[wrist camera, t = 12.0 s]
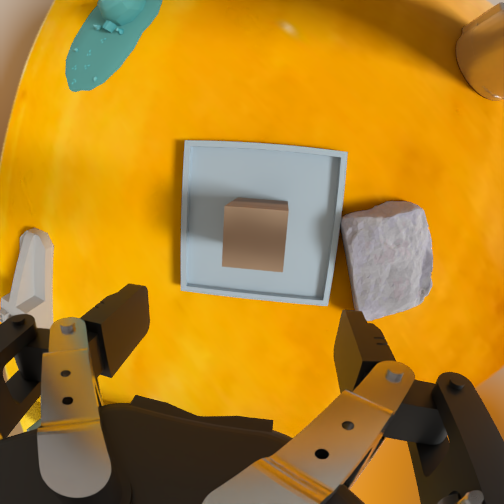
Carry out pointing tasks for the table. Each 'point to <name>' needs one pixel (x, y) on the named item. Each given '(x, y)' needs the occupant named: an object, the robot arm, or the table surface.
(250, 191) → the dish
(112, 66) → the diorama
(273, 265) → the walnut block
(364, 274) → the stone block
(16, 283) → the sloped support bracket
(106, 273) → the table surface
